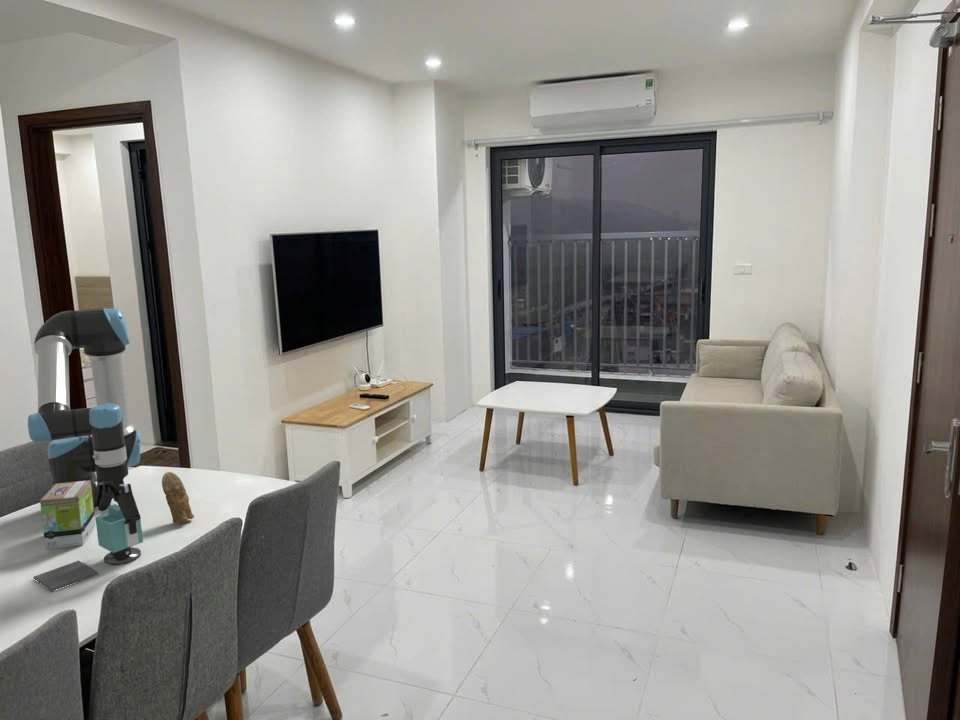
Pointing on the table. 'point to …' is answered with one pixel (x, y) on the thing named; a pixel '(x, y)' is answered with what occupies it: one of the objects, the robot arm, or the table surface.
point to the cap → (114, 530)
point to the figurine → (176, 498)
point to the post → (122, 556)
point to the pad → (66, 575)
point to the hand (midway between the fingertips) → (120, 538)
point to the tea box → (67, 514)
